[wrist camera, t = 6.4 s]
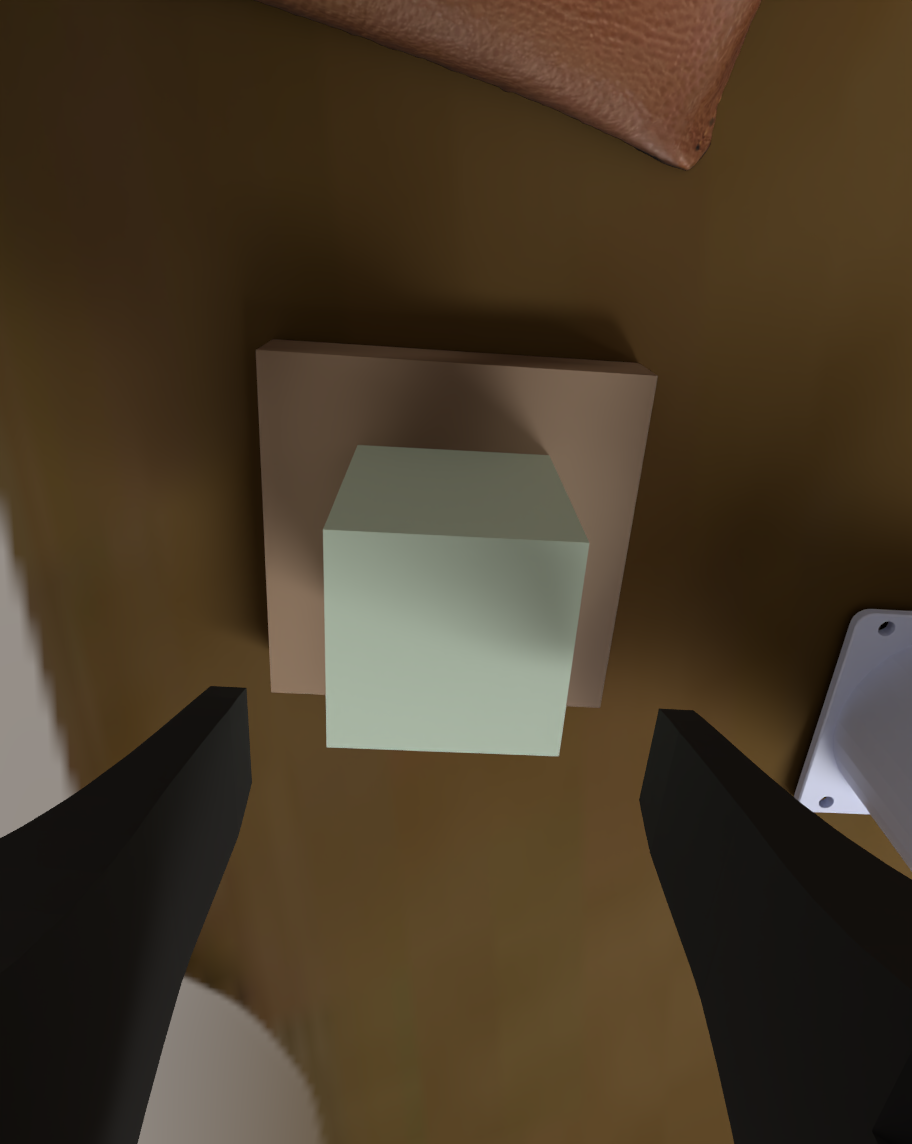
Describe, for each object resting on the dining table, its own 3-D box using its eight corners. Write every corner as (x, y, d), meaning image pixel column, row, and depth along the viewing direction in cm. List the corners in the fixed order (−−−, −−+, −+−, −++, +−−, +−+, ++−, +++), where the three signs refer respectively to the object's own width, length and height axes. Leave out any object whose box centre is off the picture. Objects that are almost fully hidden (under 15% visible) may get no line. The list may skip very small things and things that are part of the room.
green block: (549, 455, 20) (589, 542, 14) (530, 623, 22) (558, 756, 16) (357, 444, 19) (322, 529, 14) (357, 615, 21) (326, 746, 16)
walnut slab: (638, 362, 20) (657, 376, 19) (588, 672, 25) (600, 707, 23) (272, 339, 20) (255, 349, 18) (284, 657, 24) (271, 692, 22)
